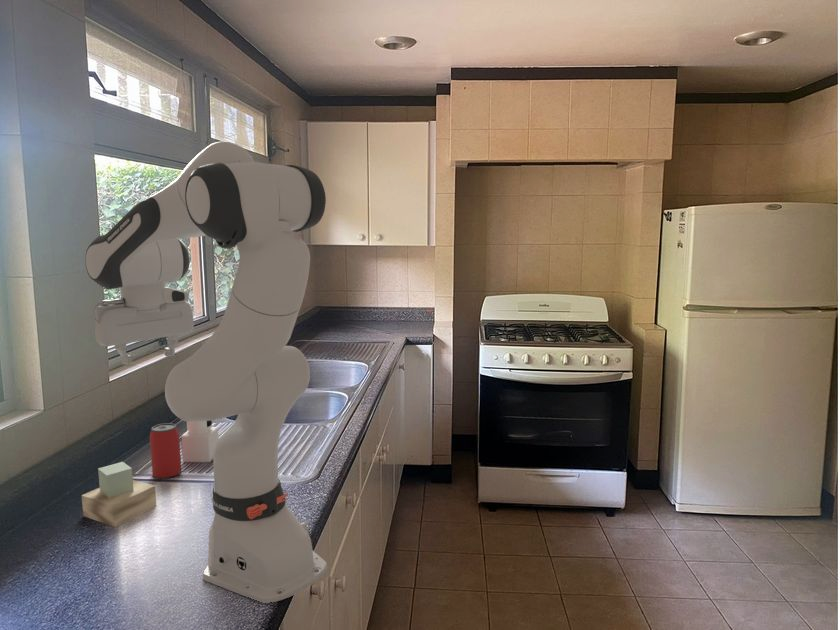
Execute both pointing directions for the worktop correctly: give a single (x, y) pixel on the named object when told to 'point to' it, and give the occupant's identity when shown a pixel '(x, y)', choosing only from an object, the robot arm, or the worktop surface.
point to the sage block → (115, 479)
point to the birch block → (119, 504)
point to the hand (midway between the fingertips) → (149, 359)
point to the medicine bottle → (199, 441)
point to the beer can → (165, 450)
